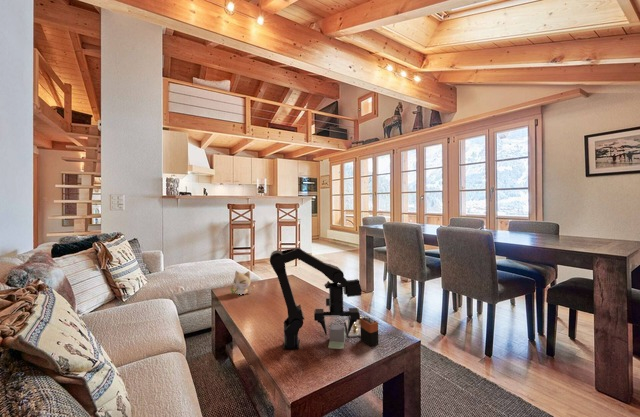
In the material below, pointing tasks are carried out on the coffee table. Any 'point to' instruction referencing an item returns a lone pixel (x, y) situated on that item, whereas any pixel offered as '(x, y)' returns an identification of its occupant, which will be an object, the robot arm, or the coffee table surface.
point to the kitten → (242, 283)
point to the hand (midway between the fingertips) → (337, 334)
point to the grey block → (337, 336)
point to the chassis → (355, 329)
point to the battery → (369, 331)
